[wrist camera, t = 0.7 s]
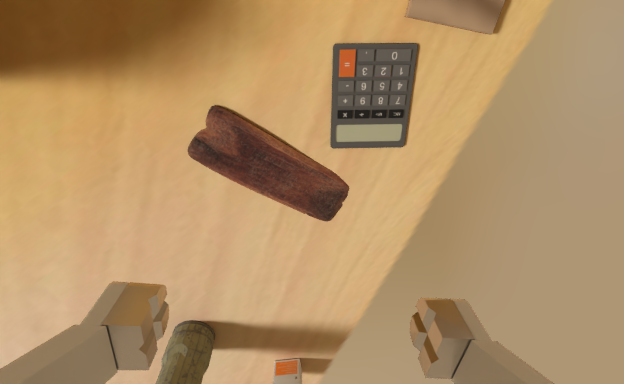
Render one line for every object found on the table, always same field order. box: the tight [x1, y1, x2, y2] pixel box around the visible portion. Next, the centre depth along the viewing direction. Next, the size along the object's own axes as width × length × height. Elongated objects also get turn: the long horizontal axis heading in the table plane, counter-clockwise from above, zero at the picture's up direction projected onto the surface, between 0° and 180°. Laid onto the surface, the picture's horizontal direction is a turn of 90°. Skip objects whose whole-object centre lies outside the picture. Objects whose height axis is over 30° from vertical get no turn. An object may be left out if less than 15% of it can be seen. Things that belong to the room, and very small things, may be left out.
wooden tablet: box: [188, 106, 349, 221], centre depth 53 cm, size 26×2×10 cm
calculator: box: [331, 43, 418, 148], centre depth 48 cm, size 12×1×15 cm
